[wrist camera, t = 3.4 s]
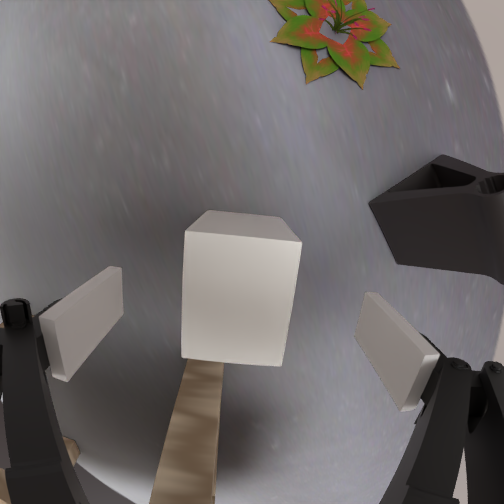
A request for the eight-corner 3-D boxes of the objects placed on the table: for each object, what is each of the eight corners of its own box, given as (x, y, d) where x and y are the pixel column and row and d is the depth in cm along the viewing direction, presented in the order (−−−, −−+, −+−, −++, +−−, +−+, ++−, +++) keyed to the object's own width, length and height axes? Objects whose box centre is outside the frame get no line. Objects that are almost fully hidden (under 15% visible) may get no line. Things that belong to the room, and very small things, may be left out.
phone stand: (441, 154, 22) (543, 153, 10) (463, 212, 23) (559, 239, 11) (367, 202, 23) (462, 228, 11) (395, 263, 24) (483, 323, 12)
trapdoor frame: (63, 446, 30) (16, 539, 11) (18, 311, 24) (-99, 409, 5) (216, 482, 31) (208, 603, 12) (225, 350, 25) (205, 571, 7)
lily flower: (292, 107, 21) (304, 92, 17) (244, -6, 18) (244, -35, 14) (415, 84, 21) (443, 72, 16) (363, -19, 18) (380, -43, 13)
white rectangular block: (201, 296, 24) (181, 357, 15) (208, 209, 22) (185, 230, 14) (269, 302, 24) (281, 366, 16) (280, 217, 23) (302, 242, 14)
